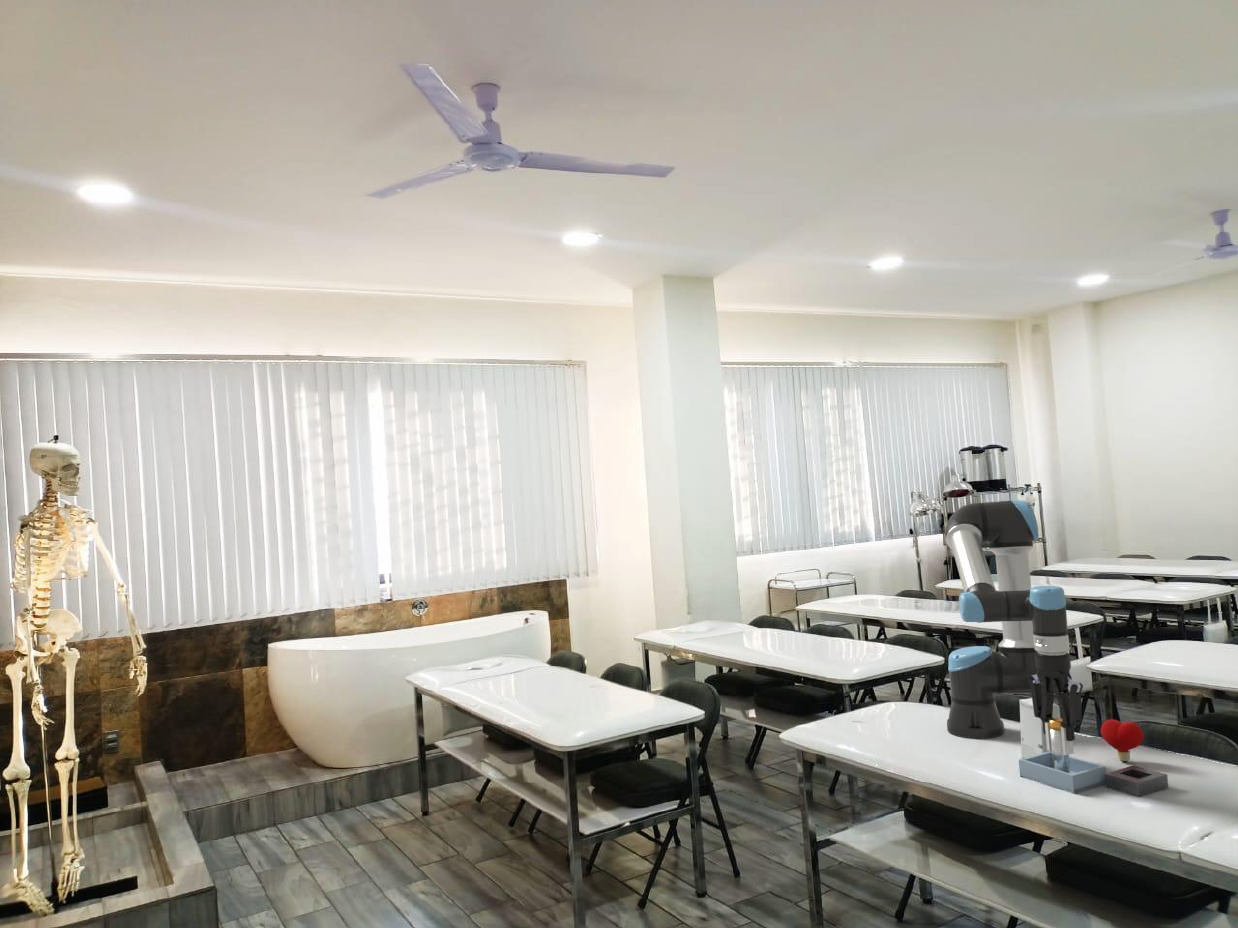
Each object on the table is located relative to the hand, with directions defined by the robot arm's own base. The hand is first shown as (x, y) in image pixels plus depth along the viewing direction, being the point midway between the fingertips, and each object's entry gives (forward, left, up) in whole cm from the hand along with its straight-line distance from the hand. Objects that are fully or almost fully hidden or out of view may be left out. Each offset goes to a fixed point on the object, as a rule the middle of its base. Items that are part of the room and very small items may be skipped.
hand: (1060, 751), depth 206 cm
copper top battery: (0, 0, -5) cm, 5 cm away
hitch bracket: (+12, +9, -7) cm, 16 cm away
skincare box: (-12, +8, -7) cm, 16 cm away
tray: (0, 0, -7) cm, 7 cm away
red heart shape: (0, +22, -7) cm, 23 cm away
